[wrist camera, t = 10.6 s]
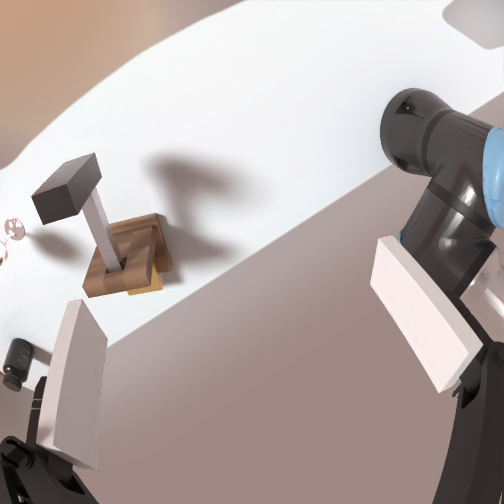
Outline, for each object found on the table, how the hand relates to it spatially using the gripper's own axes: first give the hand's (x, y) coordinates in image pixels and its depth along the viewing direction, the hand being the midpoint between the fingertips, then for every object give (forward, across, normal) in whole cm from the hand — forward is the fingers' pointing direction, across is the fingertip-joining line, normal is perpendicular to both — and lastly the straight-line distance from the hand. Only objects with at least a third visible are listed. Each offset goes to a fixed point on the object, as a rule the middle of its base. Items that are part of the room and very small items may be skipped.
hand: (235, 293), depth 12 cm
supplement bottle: (+32, +54, +36) cm, 72 cm away
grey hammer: (+23, +14, +5) cm, 27 cm away
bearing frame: (+32, +14, +15) cm, 38 cm away
